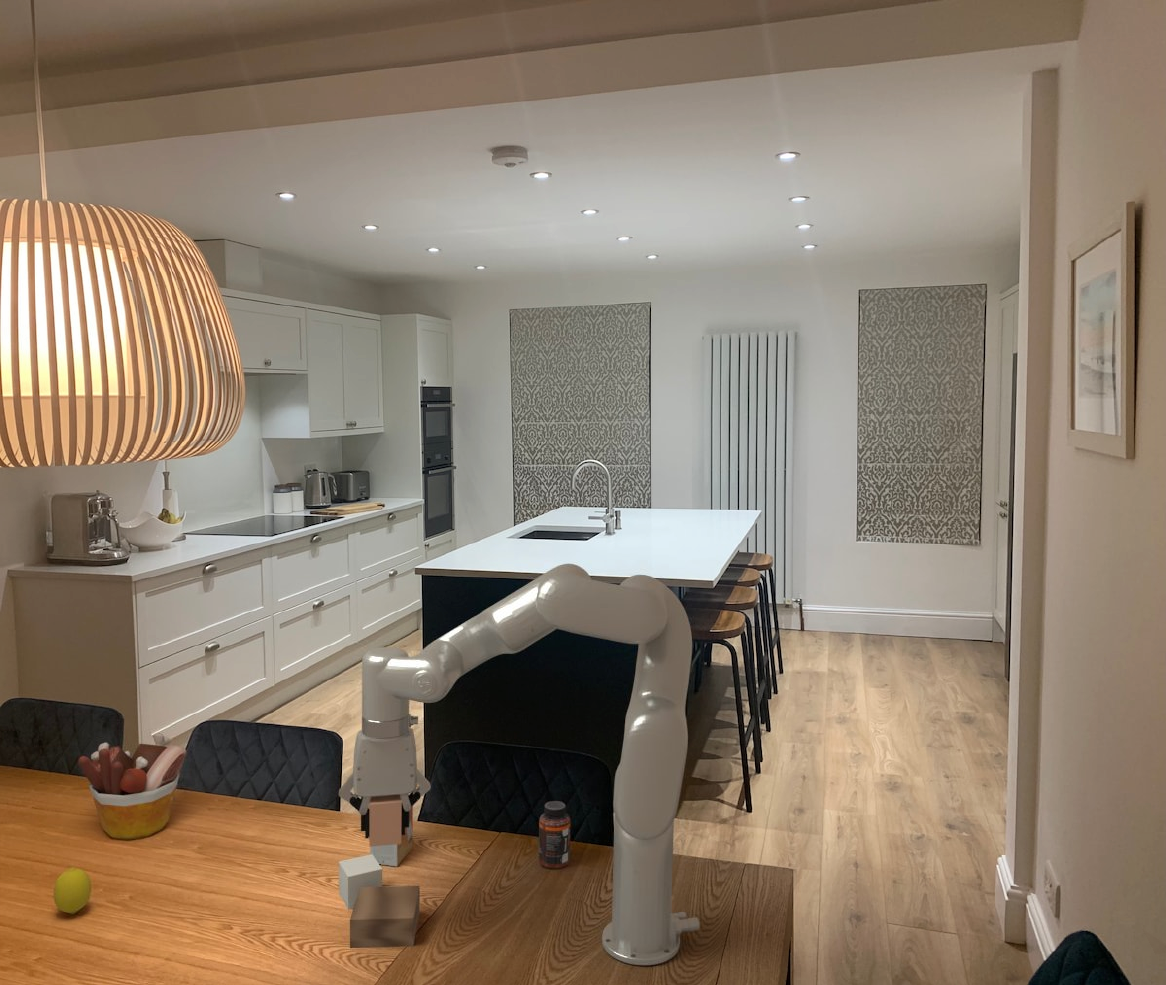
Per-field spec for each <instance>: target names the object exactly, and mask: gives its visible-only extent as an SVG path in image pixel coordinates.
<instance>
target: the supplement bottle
mask: <svg viewBox="0 0 1166 985" xmlns="http://www.w3.org/2000/svg"><path fill="white" fill-rule="evenodd" d="M566 808H567V807H566V804H565V803H564V802H563V801H558V800H554V801H553V800H552V801H547V802H545V804H544V810H543V811H544V812H543V813H542V814H541V815H540V817H539V821H538V825H539V826H538V862H539V864H540V865H541V866H543V867H545V868H546V869H547V868H548V869H561V868H564V867H566V866H567V865H569V863H570V860H571V817H570V816H569V814H567V810H566Z"/></svg>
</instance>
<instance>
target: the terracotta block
mask: <svg viewBox="0 0 1166 985" xmlns="http://www.w3.org/2000/svg"><path fill="white" fill-rule="evenodd" d="M369 814H370V836H369V838H368V841H369V848H370V847H373V846H384V845H395V844H401V816H402V801H401V798H400V795H390V796H377V797H371V800H370V803H369Z"/></svg>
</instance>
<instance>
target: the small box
mask: <svg viewBox="0 0 1166 985" xmlns="http://www.w3.org/2000/svg"><path fill="white" fill-rule="evenodd" d="M413 806H414V805H413ZM413 806H412V807H411V810H410V811H409V827H406V828H405V835H402V834H401V844H395V845H384V846H373V847H370V846H369V852H370V853H369V855H370V854H373V856H374V857H375V859H376V860H377V862H378V863H379V864H381V865H380V866H387V865H388V867H398V866H399V865H400V864H401V862H402V861H403V860H404V859H405V858H406V856H407V855H408V854H409V853H410V852H411V851H412V850H413V839H414V837H413V832H414V831H413V830H414V829H413V827H414V826H413V823H414V822H413V817H414V816H413V815H414V813H413V812H414V810H413Z"/></svg>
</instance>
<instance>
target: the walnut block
mask: <svg viewBox="0 0 1166 985" xmlns="http://www.w3.org/2000/svg"><path fill="white" fill-rule="evenodd" d="M420 887H421V886H420V885H395V886H393V885H392V886H391V885H390V886H388V885H387V886H383V885H382V887H360V889H359V892H358V895H357V898H356V902H355V905H354V908H353V909H352V912H351V915H350V919H349V949H361V948H362V949H365V948H395V947H396V948H399V947H404V948H405V947H414V945H415V940H416V934H417V928H418V923H419V918H420V913H421V912H420V907H421V906H420V901H421V900H420V896H421V894H420V889H421V888H420Z"/></svg>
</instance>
